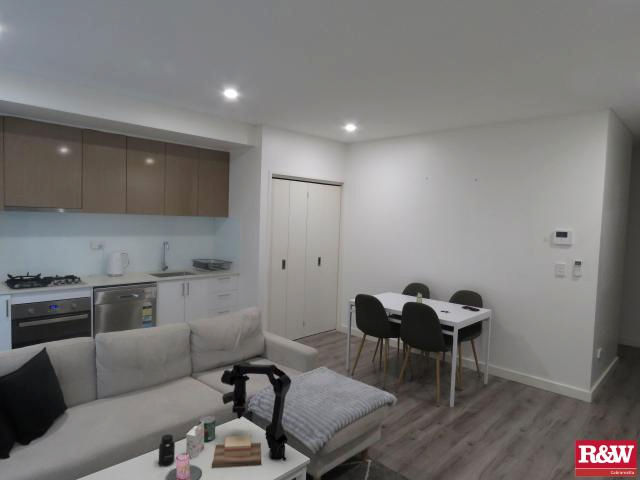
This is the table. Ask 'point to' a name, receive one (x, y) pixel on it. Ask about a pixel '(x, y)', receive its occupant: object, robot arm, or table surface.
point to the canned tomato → (208, 427)
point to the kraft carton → (237, 446)
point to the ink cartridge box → (195, 440)
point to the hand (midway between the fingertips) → (239, 418)
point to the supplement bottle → (166, 450)
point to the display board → (237, 461)
